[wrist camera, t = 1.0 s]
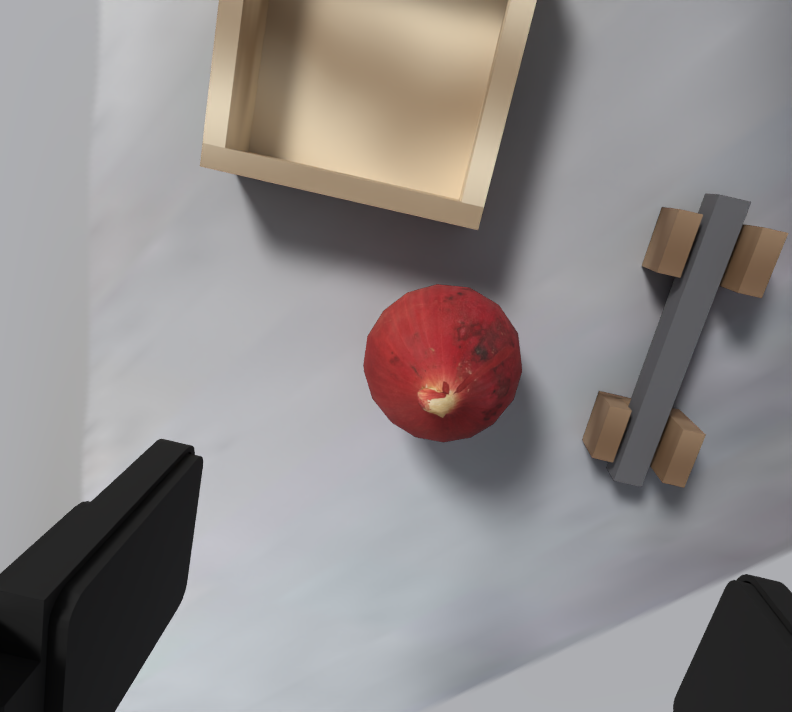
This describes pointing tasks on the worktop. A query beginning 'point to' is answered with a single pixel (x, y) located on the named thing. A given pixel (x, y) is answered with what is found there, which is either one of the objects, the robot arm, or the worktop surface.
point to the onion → (443, 362)
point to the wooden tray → (367, 98)
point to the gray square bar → (677, 335)
